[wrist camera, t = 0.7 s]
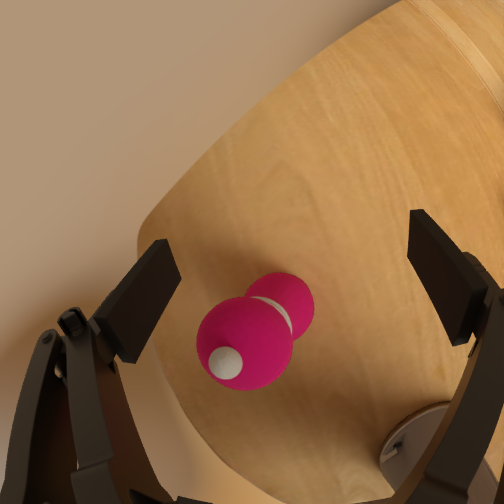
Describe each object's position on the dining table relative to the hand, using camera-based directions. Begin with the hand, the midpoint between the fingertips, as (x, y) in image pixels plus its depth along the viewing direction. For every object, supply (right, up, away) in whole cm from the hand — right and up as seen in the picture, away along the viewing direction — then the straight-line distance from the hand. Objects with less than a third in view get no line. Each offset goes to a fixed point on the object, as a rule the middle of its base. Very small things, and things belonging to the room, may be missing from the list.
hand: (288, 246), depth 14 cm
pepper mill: (+2, -6, +18) cm, 19 cm away
